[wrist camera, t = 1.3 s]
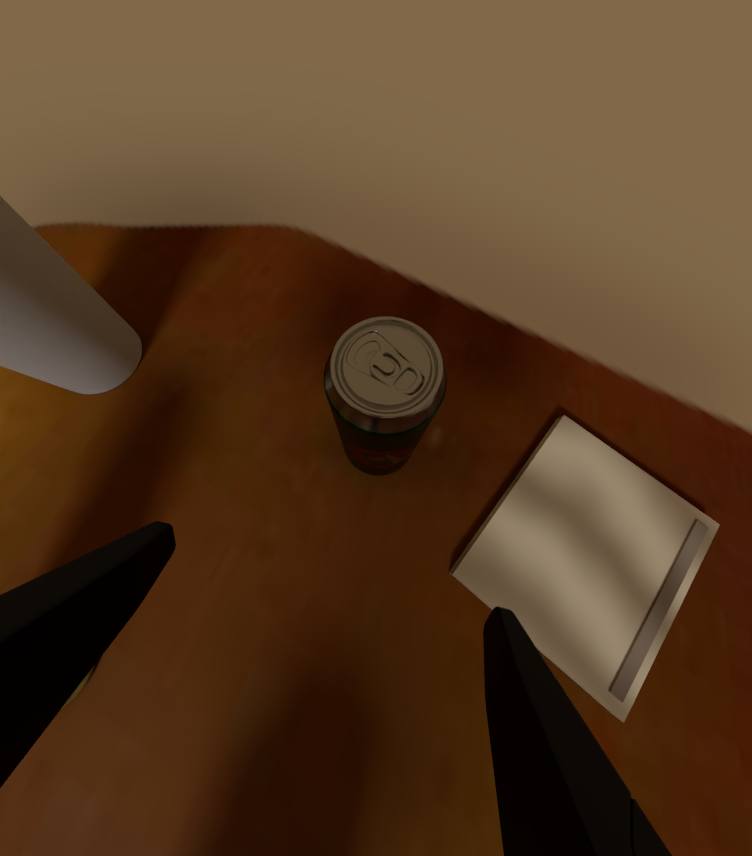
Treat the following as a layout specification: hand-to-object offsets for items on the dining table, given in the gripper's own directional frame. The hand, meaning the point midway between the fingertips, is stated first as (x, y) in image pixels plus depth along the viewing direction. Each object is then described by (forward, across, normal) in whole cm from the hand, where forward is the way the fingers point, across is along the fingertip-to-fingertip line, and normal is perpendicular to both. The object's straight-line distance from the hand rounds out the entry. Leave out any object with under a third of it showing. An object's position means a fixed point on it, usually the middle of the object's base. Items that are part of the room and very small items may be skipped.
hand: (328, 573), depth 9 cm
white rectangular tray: (+12, -15, +7) cm, 20 cm away
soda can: (+15, 0, +4) cm, 15 cm away
